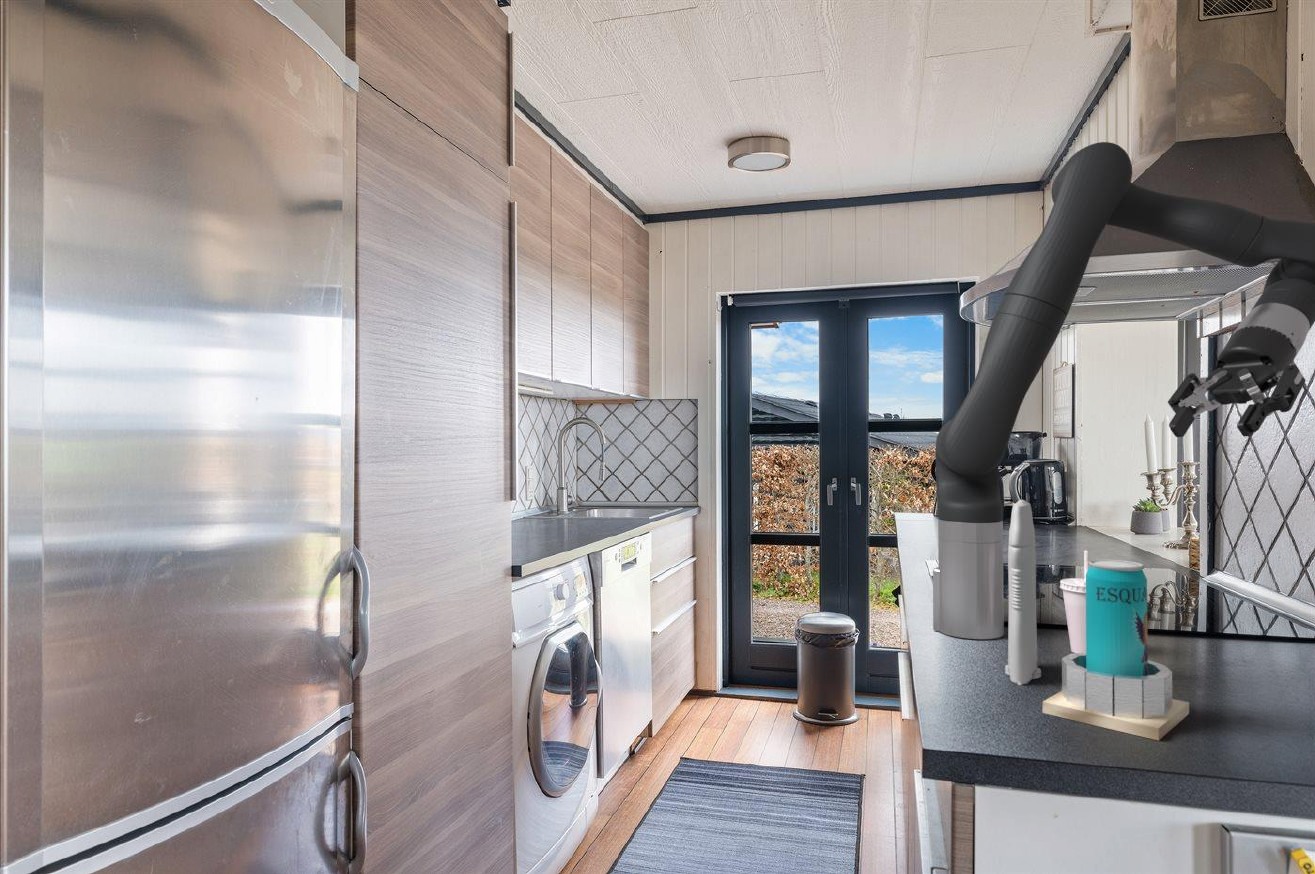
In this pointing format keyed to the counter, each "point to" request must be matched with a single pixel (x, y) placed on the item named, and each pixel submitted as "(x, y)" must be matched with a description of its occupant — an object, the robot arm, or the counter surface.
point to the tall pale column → (1022, 597)
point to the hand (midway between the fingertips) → (1208, 432)
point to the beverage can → (1116, 618)
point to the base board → (1118, 718)
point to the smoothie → (1076, 608)
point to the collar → (1117, 690)
